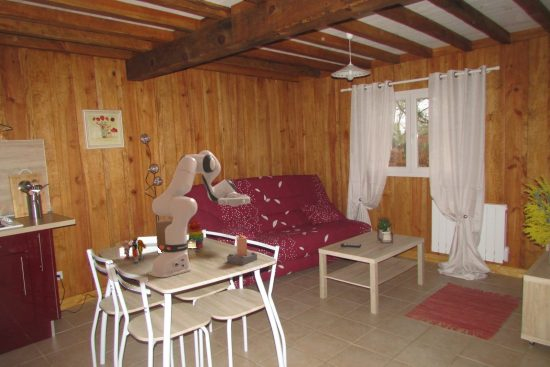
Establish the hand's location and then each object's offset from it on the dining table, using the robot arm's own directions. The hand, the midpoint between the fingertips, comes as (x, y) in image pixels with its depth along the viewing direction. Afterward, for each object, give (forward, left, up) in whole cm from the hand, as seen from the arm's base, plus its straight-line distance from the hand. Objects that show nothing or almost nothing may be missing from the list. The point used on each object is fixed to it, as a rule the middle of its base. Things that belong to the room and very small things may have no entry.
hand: (234, 202), depth 244 cm
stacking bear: (-7, +29, -30) cm, 42 cm away
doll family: (-46, +37, -30) cm, 67 cm away
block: (-25, +35, -30) cm, 52 cm away
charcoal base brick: (-16, -18, -30) cm, 39 cm away
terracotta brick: (-17, -18, -26) cm, 36 cm away
